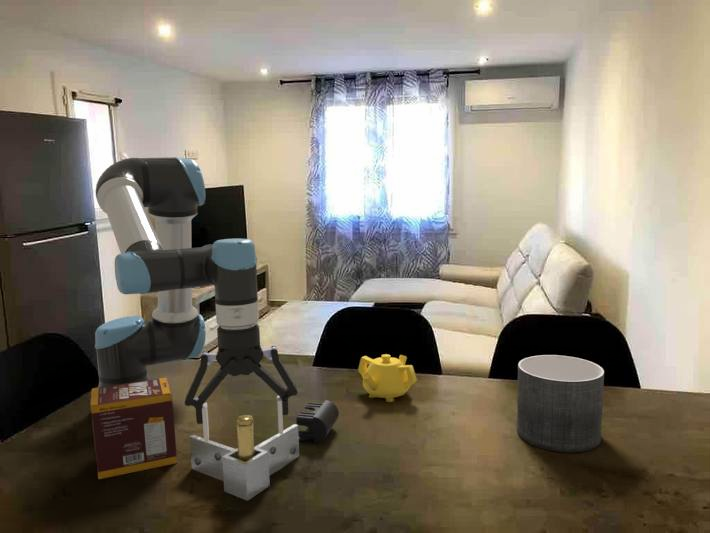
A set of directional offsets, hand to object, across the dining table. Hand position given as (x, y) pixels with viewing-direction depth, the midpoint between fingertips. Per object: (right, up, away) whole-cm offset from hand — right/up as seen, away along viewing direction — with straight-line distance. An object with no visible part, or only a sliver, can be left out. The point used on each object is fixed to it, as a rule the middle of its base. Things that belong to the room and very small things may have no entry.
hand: (244, 435), depth 105 cm
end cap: (+12, -7, +23) cm, 27 cm away
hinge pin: (0, -11, +2) cm, 11 cm away
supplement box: (-25, -10, +14) cm, 30 cm away
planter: (+66, -6, +21) cm, 70 cm away
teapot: (+29, -3, +47) cm, 55 cm away
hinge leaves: (-1, -9, +10) cm, 14 cm away
